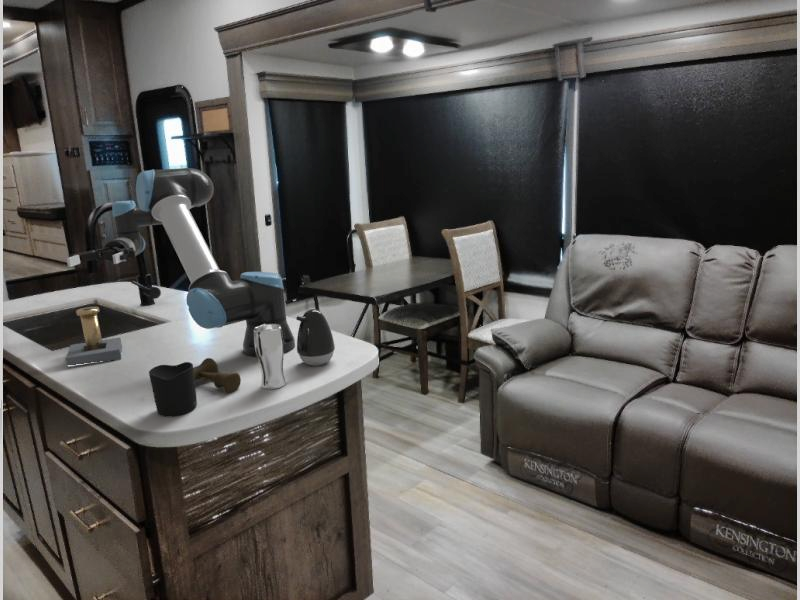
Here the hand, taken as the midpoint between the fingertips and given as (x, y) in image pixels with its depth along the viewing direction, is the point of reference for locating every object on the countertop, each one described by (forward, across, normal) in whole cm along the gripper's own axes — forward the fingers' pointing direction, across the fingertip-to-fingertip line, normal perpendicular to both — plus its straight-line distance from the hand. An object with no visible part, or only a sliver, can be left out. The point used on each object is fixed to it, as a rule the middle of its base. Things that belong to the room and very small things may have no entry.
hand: (91, 261), depth 178 cm
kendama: (+38, -41, -28) cm, 63 cm away
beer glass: (+42, -58, -28) cm, 77 cm away
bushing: (+8, 0, -28) cm, 29 cm away
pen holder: (+53, -37, -28) cm, 70 cm away
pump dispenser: (+28, -68, -28) cm, 78 cm away
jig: (+8, 0, -28) cm, 29 cm away
